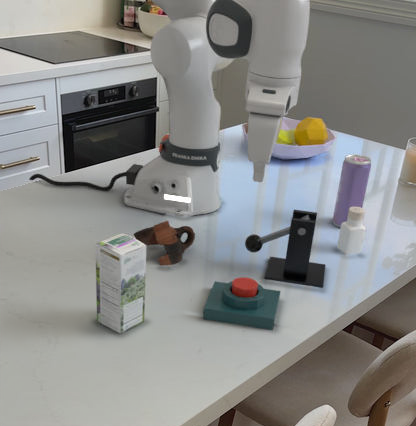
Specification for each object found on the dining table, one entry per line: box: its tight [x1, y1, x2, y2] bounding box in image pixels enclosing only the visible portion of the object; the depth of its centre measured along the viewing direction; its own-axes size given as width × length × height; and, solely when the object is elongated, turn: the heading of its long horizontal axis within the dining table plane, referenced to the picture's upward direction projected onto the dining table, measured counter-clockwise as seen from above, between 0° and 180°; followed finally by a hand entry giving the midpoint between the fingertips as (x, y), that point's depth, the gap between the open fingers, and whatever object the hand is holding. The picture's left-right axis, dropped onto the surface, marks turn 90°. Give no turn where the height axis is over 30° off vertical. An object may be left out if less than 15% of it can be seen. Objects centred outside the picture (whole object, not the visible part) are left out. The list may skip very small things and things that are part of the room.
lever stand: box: [264, 209, 326, 289], centre depth 126 cm, size 11×9×12 cm
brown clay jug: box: [133, 220, 196, 266], centre depth 131 cm, size 12×10×8 cm
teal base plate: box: [202, 280, 281, 331], centre depth 116 cm, size 12×10×4 cm
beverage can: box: [332, 154, 372, 229], centre depth 147 cm, size 6×6×15 cm
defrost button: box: [231, 276, 259, 298], centre depth 115 cm, size 4×4×2 cm
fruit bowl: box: [241, 116, 337, 160], centre depth 188 cm, size 28×27×11 cm
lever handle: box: [244, 215, 310, 254], centre depth 125 cm, size 13×3×3 cm, turn 80°
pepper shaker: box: [336, 207, 367, 255], centre depth 137 cm, size 4×4×10 cm
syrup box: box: [95, 233, 147, 334], centre depth 107 cm, size 6×6×14 cm
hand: (261, 171), depth 120 cm, fingers open, 8 cm apart
